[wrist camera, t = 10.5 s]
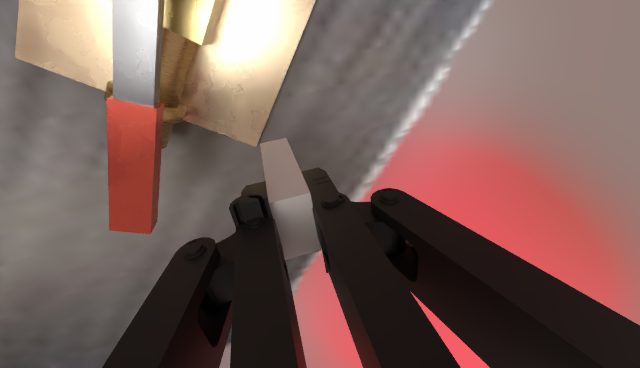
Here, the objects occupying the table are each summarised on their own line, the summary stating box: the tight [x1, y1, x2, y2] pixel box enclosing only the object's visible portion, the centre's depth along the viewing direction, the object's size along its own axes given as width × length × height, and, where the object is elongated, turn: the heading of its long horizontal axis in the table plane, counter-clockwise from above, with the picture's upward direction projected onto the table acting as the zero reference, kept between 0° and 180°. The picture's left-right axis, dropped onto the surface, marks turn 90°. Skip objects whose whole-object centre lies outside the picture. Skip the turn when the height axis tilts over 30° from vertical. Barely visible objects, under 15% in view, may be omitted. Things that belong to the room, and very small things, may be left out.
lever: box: [107, 0, 165, 234], centre depth 14 cm, size 17×3×2 cm, turn 163°
